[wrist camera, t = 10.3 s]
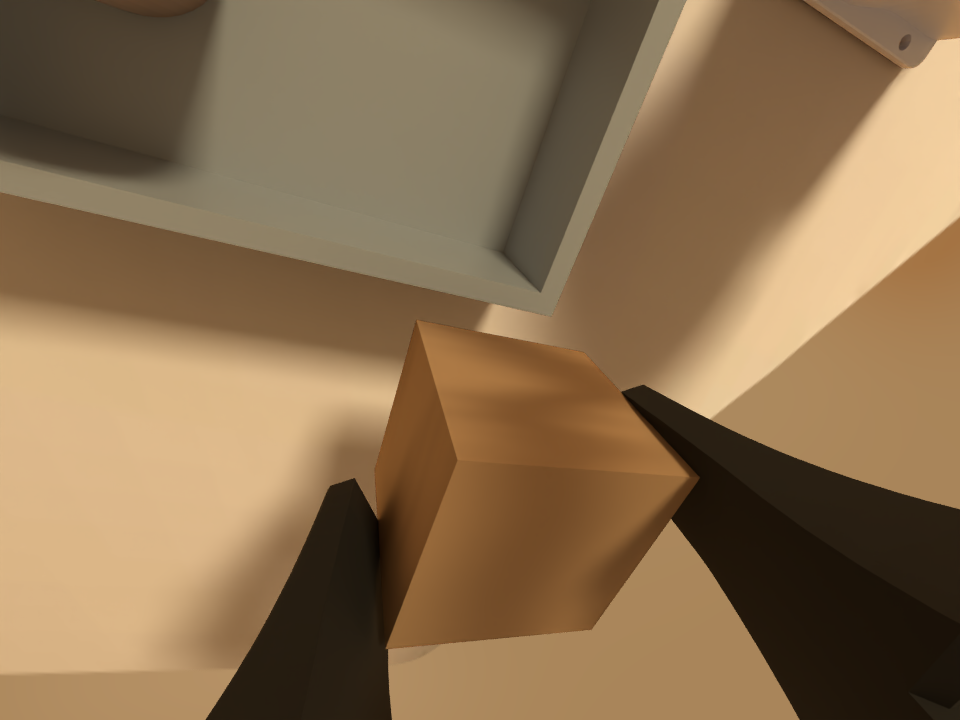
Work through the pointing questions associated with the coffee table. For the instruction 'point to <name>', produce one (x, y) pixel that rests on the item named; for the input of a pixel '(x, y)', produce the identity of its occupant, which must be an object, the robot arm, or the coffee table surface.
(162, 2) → the terracotta cylinder
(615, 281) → the coffee table surface
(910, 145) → the coffee table surface
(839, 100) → the coffee table surface
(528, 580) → the walnut cube
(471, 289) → the slate tote
